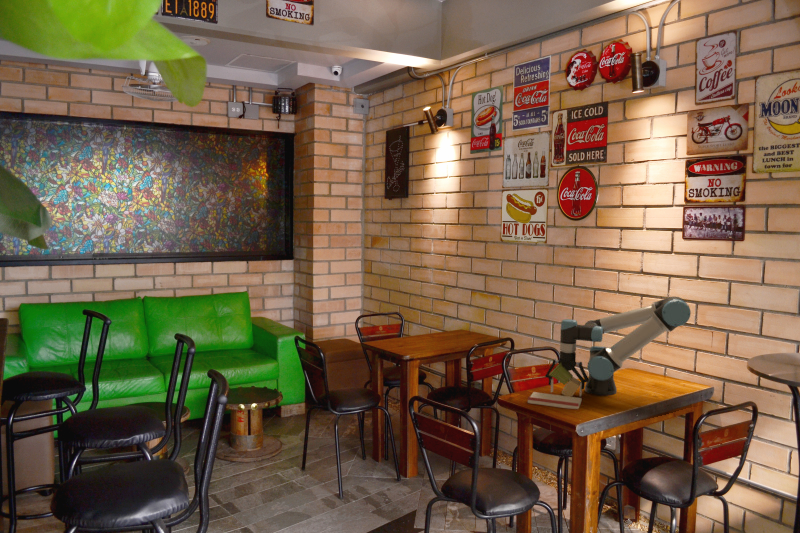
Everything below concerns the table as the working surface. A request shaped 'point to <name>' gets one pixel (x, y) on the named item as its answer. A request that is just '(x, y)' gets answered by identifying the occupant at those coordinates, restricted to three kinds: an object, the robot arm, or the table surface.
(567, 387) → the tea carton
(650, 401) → the table surface
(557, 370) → the plant pot
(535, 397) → the shelf board
